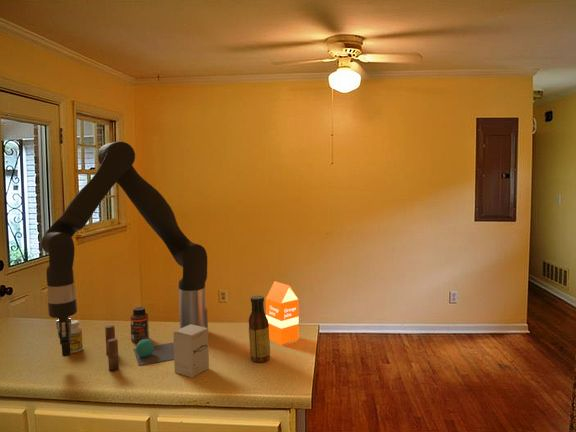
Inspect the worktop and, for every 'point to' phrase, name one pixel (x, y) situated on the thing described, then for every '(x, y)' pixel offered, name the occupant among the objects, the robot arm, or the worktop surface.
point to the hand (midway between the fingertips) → (66, 355)
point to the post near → (113, 355)
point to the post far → (109, 334)
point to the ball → (145, 348)
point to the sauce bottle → (259, 331)
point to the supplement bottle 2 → (139, 324)
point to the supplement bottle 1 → (76, 337)
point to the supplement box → (191, 350)
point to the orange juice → (282, 313)
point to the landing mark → (157, 354)
